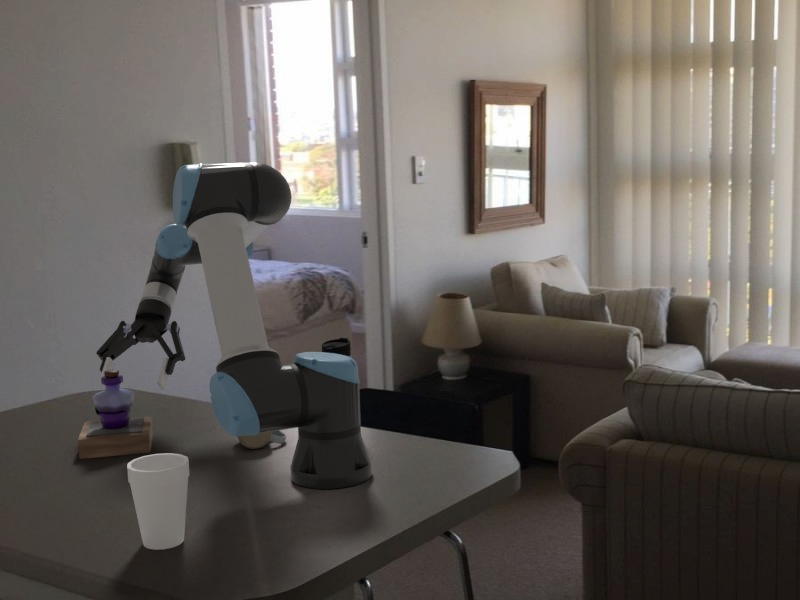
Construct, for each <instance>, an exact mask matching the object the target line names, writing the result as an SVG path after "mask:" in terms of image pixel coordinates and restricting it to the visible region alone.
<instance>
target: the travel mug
mask: <svg viewBox="0 0 800 600" xmlns="http://www.w3.org/2000/svg"><path fill="white" fill-rule="evenodd" d="M351 351H352V350H351V341H350V340H349V337H339V338H337V339H335V338H334V339H329V340H326V341H325V342H323V343H322V344H321V352H325V353H334V354H340V355H345V356H348V357H350V358H352V354H351Z"/></svg>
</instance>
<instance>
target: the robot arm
mask: <svg viewBox="0 0 800 600" xmlns="http://www.w3.org/2000/svg"><path fill="white" fill-rule="evenodd" d="M291 204H292V190H291V186H290V184H289V182H288V181H287V179H286V177H285V176H284V175H283V174H282V173H281V172H280V171H279V170H277V169H276V168H274V167H272V166H271V165H268V164H266V163H263V162H258V161H246V162H221V163H219V162H218V163H202V162H199V163H196V164H195V163H193V164H185V165H183V166H181V167H179V169H178V170H177V171H176V174H175V178H174V182H173V191H172V212H173V213H172V215H173V220H174V221H173V222H175V223H170V224H168V225H166V226H164V227H163V228H162V229H161V230H160V232H159V233H158V237H157V239H156V241H155V248H154V252H153V257H152V260H151V265H150V268H149V271H148V276H147V278H146V282H145V284H144V288H143V290H142V294H141V297H140V300H139V303H138V307H137V310H136V312H135V317H134V318H135V319H134V320H133V322H132V323H127V322H126V321H125V320H121V321H120V322H119V323H118V326H117V328H116V329H115V331H114V332H113V333H112V334H111V335H110V336H109V337H108V338H107V339H106V340H105V341H104V342H103V344H102V345H101V346H100V347H99V348H98V350H97V351H96V352H95V353H96V355H97V357H98V358H99V360H100V361H101V364H100V366H99V371H100V372H101V373H100V375H99V376H100V377H99V380H98V383H99V385H100V386H101V387H102V389H105V390H106V388H105V385H103V384H101V378H102V377H103V376H105V375H104V371H106V370H114V366H115V362H114V361H115V360H116V359H117V358H118V357H120V356H121V355H122V354H124V353H125V352H126V351H127V350H129V349H130V348H131V347H132V346H135V345H137V344H139V343H141V344H142V343H143V344H144V343H150V344H151V343H152V344H153V343H154V342H156V341H157V342H158V343H159V345H160V346H161V348H162V349H163V351H164V353H165V354H166V356H167V357H164V358H163V361H162V364H161V368H160V371H159V375H158V378H157V382H156V384H157V385H158V387H159V388H160V390H165V389H166V386H167V382H168V379H169V376H172V374H174V370H175V366H176V363H177V362H184V361H185V360H186V356H185V352H184V347H183V344H182V341H181V337H180V329H181V328H180V326H179V324H178V323H177V321H176V320H173V321H172V322H171V323H169V322H170V320H171V319H170V318H171V316H172V311H173V308H174V305H175V302H176V298H177V295H178V290H179V288H180V285H181V281H182V278H183V274H184V272H185V269H186V266H189V265H192V266H193V265H200V264H201V265H202V269H203V273H204V278H205V281H206V287H207V293H208V296H209V302H210V306H211V311H212V316H213V320H214V321H213V322H214V325H215V330H216V334H217V340H218V344H219V349H220V354H221V358H220V359H219V361H218V362H217V363H216V365H215V373H214V374H213V375H211V376H210V380H209V392H210V400H211V401H210V403H211V405H212V408H213V411H214V415H215V417H216V419H217V421H218V423H219V426H220V427H221V428H222V429H223V430H224V431H225V433H227V434H228V435H229V436H232V437H237V436H245V435H251V436H255V435H257V434H260V433H266V432H272V431H278V430H279V431H282V430H283V431H284V430H291V429H296V428H297V429H298V430H297V434H298V436H297V441H296V442H297V443H296V446H295V449H294V453H293V456H292V460H291V464H290V480H291V481H292V483H294V484H295V485H298V486H300V487H304V488H309V489H318V490H322V489H323V490H328V489H329V490H330V489H332V490H333V489H342V488H347V487H352V486H353V487H354V486H356V485H359V484H361V483H364V482H366V481H368V480H369V479H370V478H371V477H372V475H373V474H372V473H373V472H372V471H373V469H372V468H373V467H372V466H373V465H372V460H371V458H370V454H369V452H368V450H367V447H366V444H365V441H364V439H363V436H362V430H361V429H362V428H361V427H362V426H361V401H360V399H361V396H360V394H361V393H360V384H361V381H360V377H359V366H358V363H357V362H356V360H355V359H354V358H352V357H351V358H350V357H348V356H345V355H340V354H334V353H325V352H322V351H305V352H304V351H303V352H300V353H296V354H295V355H294V358H293V363H287V364H285V363H284V364H282V361H281V358H280V353H279V352H278V351H277V350H275V349H273V348H271V347H270V346H269V343H268V338H267V334H266V329H265V325H264V321H263V320H264V319H263V318H262V312H261V307H260V304H259V303H260V302H259V300H258V295H257V291H256V286H255V282H254V277H253V274H252V269H251V264H250V259H251V258H252V256H253V251H254V241H255V240H256V239H257V237H258V236H260V235H261V234H262V233H263V231H264V230H265V229H267V227H268V226H272V225H275V224H276V223H279V222H280V221H281V220H282V219H283V218H284V217H285V215H287V213H288V212H289V210H290V208H291ZM167 332H169V333H170V336H171V339H172V342H173V346H174V349H175V353H174V352H173V351H172V350H171V348H170V347H169V345H168V343H167V342H166V341H165V339H164V337H162V336H163V335H165V334H166V333H167ZM134 336H135V338H134Z"/></svg>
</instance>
